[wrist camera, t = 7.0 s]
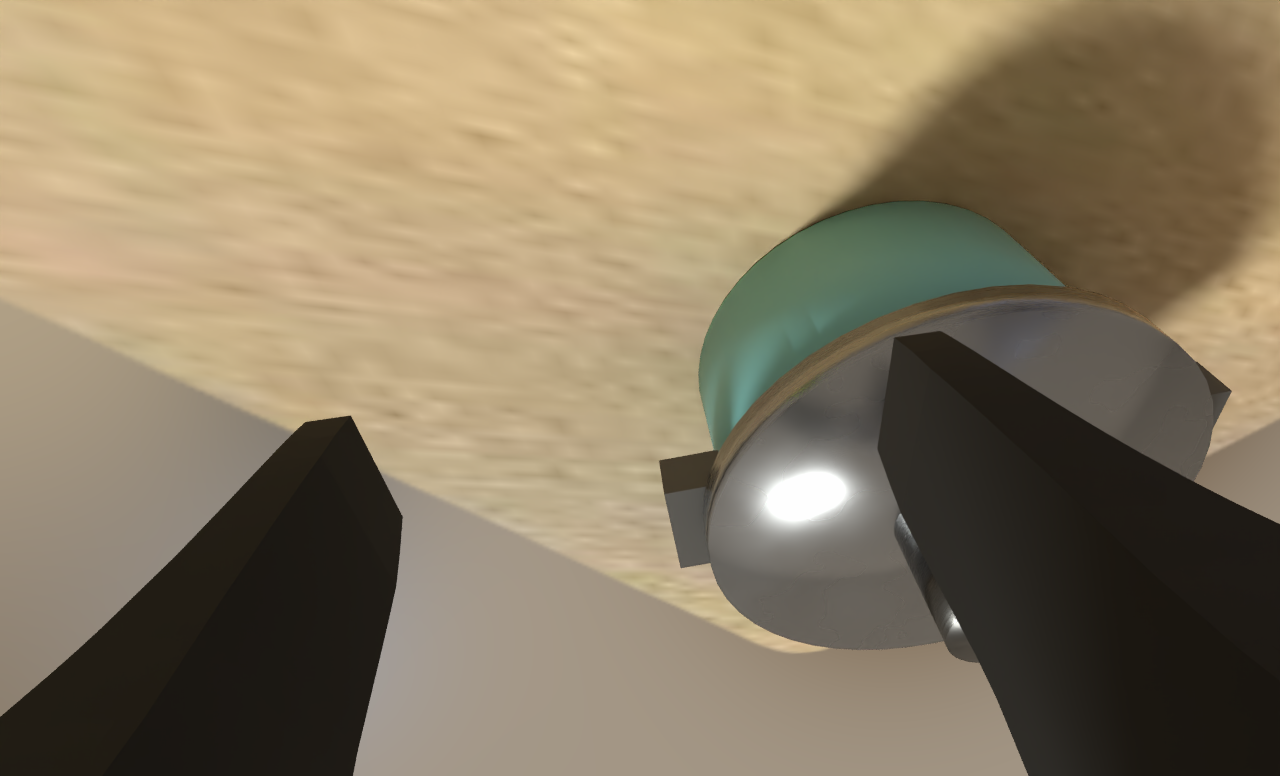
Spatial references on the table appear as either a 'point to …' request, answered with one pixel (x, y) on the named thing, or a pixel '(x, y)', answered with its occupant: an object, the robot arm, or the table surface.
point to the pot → (835, 315)
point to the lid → (857, 482)
